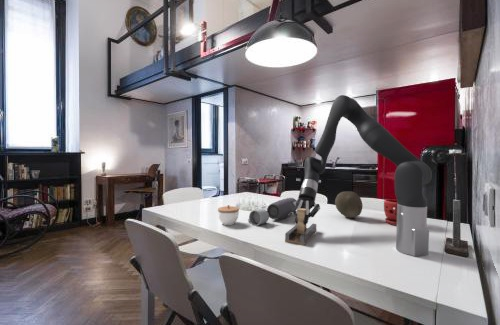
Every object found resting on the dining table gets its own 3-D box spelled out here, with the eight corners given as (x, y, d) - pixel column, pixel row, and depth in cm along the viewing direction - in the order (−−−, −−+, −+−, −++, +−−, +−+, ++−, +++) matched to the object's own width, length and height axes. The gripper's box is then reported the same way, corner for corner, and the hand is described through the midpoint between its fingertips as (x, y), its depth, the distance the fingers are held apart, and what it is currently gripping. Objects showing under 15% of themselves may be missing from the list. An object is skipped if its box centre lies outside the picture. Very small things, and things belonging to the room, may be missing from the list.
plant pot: (417, 228, 120) (418, 203, 119) (388, 226, 122) (389, 202, 122) (406, 221, 132) (407, 199, 132) (380, 219, 135) (380, 198, 135)
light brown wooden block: (299, 230, 109) (299, 208, 109) (306, 231, 108) (306, 209, 108) (297, 232, 106) (297, 209, 106) (303, 233, 105) (304, 210, 104)
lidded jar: (229, 227, 119) (229, 208, 119) (213, 223, 126) (213, 205, 125) (243, 222, 128) (243, 204, 127) (227, 219, 134) (227, 202, 134)
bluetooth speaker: (284, 212, 152) (285, 196, 152) (298, 214, 147) (299, 197, 146) (265, 220, 133) (265, 201, 133) (280, 223, 128) (281, 203, 128)
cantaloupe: (357, 215, 145) (358, 189, 145) (365, 221, 131) (366, 193, 131) (333, 214, 147) (333, 189, 147) (337, 220, 133) (338, 192, 133)
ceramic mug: (270, 223, 127) (270, 208, 126) (260, 227, 120) (260, 211, 120) (254, 220, 133) (254, 206, 133) (244, 223, 127) (244, 208, 127)
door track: (299, 228, 118) (299, 221, 118) (316, 231, 114) (316, 224, 114) (285, 241, 100) (285, 233, 100) (304, 245, 96) (304, 236, 96)
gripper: (292, 185, 116) (282, 216, 106) (322, 187, 110) (315, 220, 99) (295, 194, 121) (286, 225, 111) (324, 197, 114) (318, 230, 104)
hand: (300, 223), depth 105 cm, fingers closed on light brown wooden block, 3 cm apart
